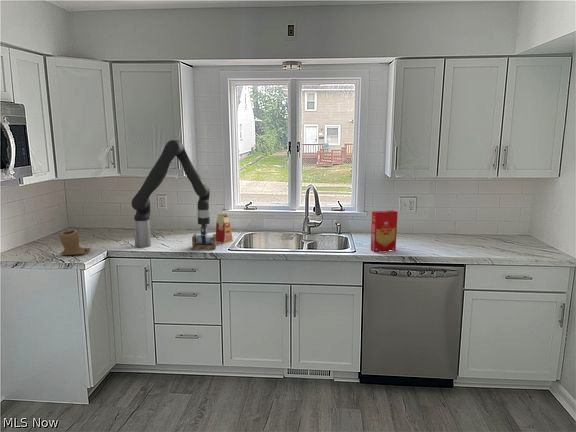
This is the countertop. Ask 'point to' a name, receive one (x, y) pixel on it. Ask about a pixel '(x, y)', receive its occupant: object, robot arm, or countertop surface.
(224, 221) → the milk carton
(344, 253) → the countertop surface
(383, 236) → the food packaging
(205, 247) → the cradle
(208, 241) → the cylinder
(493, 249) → the countertop surface
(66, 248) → the tan hollow boot-shaped piece
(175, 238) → the countertop surface
